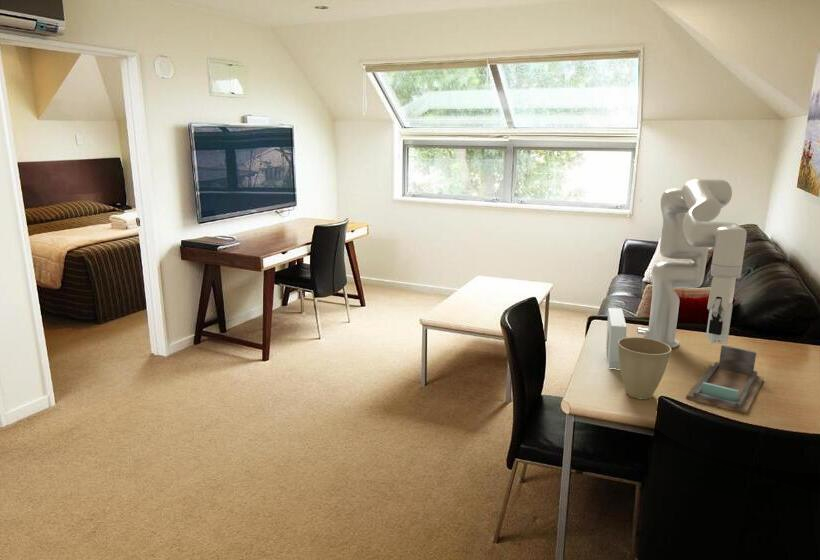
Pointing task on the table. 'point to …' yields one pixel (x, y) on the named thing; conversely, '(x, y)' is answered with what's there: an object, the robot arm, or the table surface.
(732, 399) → the pusher
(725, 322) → the skincare box
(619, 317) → the skincare box
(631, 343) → the plant pot
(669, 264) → the robot arm
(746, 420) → the table surface
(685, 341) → the table surface
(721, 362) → the tray
